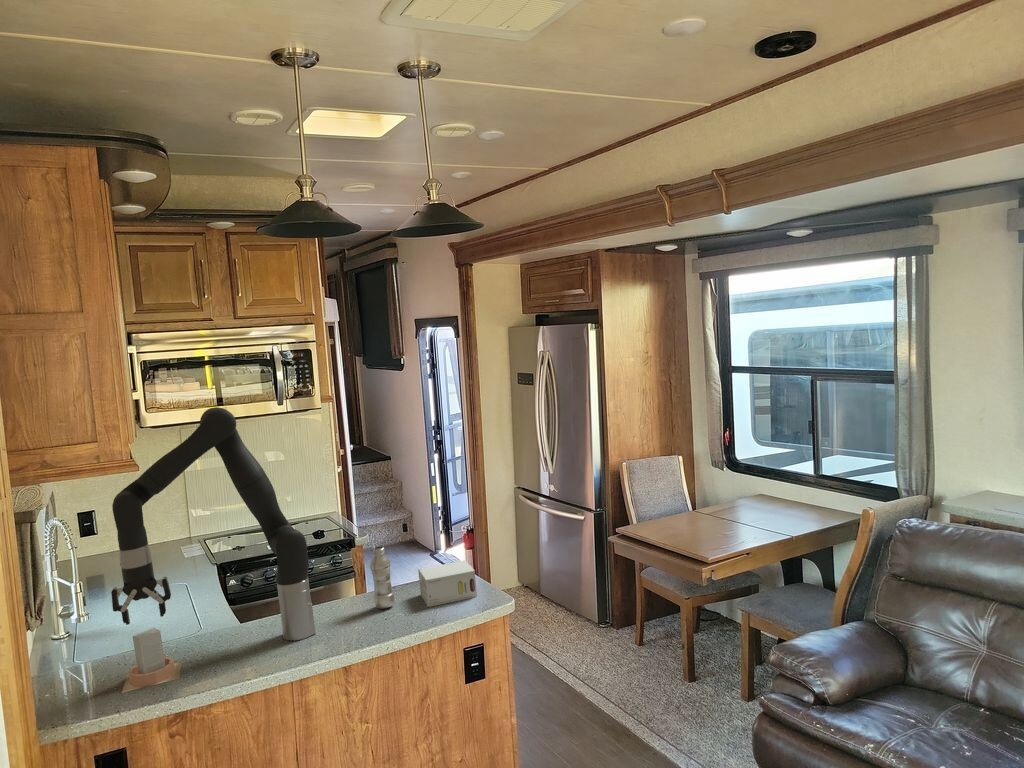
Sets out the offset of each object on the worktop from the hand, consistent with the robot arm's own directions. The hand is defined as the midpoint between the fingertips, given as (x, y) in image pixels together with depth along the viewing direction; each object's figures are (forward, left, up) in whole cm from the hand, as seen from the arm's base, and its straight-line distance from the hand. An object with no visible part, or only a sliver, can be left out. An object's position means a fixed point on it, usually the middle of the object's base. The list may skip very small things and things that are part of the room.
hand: (145, 619), depth 196 cm
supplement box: (-89, -9, -17) cm, 91 cm away
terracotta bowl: (0, 0, -16) cm, 16 cm away
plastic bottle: (-68, -12, -17) cm, 71 cm away
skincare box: (0, 0, -16) cm, 16 cm away
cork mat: (0, 0, -17) cm, 17 cm away
